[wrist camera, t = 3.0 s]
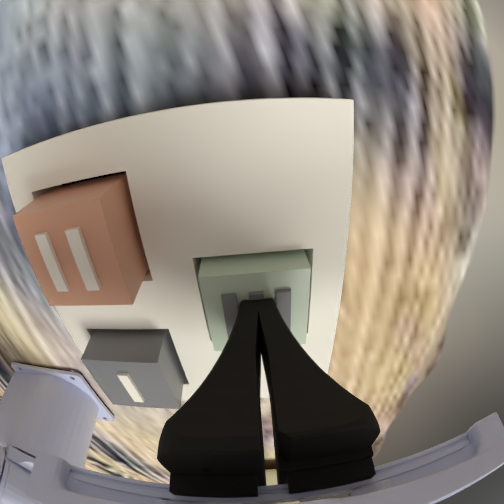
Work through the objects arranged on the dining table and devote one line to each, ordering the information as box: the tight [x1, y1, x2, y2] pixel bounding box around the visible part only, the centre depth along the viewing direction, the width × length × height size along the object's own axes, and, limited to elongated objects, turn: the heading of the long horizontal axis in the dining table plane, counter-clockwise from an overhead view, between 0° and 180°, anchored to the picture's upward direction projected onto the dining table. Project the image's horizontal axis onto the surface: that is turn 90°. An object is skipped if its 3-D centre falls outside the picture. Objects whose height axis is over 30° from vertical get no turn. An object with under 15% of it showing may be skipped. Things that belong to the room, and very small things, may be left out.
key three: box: [198, 249, 311, 351], centre depth 14 cm, size 4×4×3 cm
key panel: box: [2, 97, 354, 400], centre depth 14 cm, size 15×17×2 cm
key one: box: [81, 329, 185, 409], centre depth 15 cm, size 4×4×3 cm
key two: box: [12, 173, 149, 306], centre depth 11 cm, size 4×4×3 cm
